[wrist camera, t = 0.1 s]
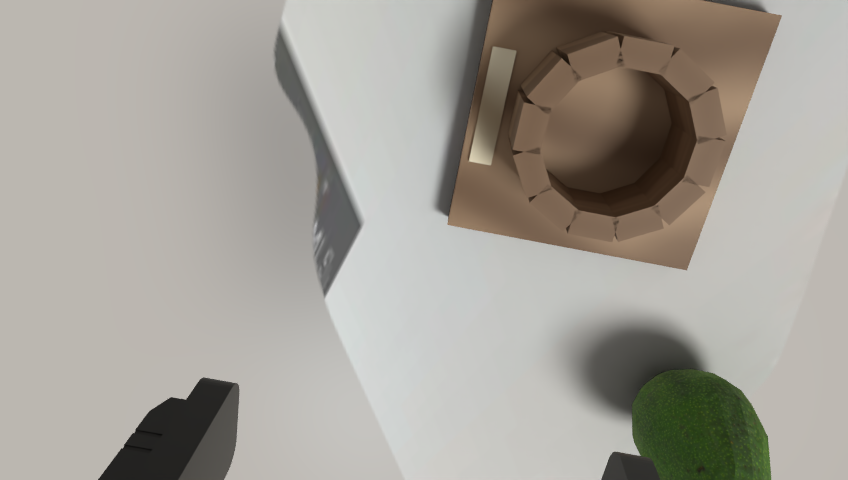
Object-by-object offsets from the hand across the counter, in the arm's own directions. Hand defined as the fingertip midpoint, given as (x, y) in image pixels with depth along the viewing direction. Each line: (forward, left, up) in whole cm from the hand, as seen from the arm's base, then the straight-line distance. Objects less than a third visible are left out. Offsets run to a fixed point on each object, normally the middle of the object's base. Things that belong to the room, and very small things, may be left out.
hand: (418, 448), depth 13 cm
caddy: (-3, +9, -29) cm, 31 cm away
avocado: (+15, +20, -29) cm, 38 cm away
